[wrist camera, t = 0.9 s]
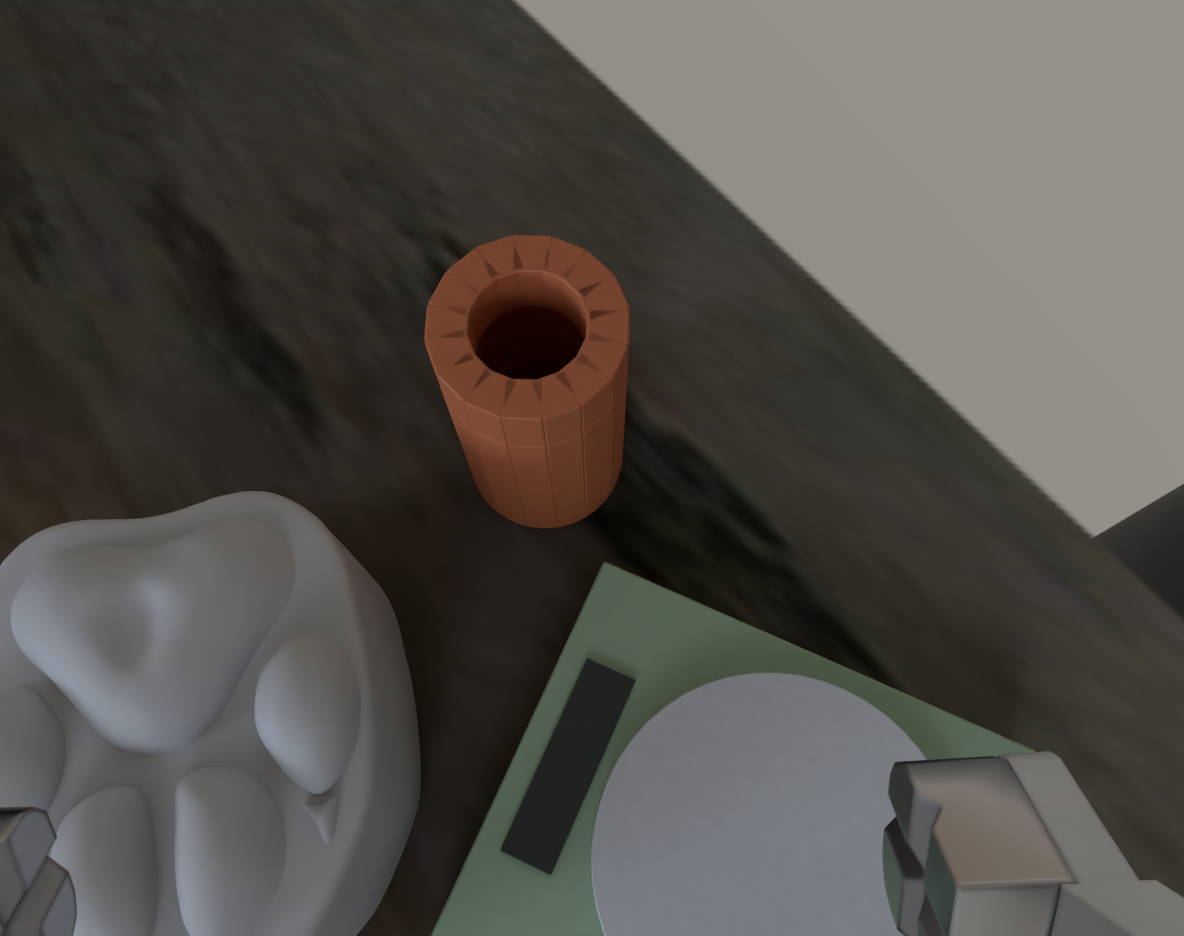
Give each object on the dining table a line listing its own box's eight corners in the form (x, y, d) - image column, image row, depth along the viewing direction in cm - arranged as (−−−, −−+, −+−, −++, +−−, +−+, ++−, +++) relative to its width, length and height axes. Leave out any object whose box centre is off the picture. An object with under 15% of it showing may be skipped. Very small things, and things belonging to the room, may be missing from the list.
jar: (646, 420, 37) (661, 278, 27) (583, 553, 35) (577, 451, 26) (511, 364, 38) (480, 206, 28) (444, 492, 36) (388, 370, 27)
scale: (1013, 755, 33) (1049, 749, 30) (885, 1161, 30) (913, 1194, 27) (603, 574, 35) (603, 554, 32) (438, 935, 32) (422, 945, 29)
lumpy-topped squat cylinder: (393, 538, 35) (330, 450, 27) (448, 957, 31) (394, 1002, 23) (79, 595, 35) (-81, 524, 27) (93, 1029, 31) (-91, 1102, 23)
